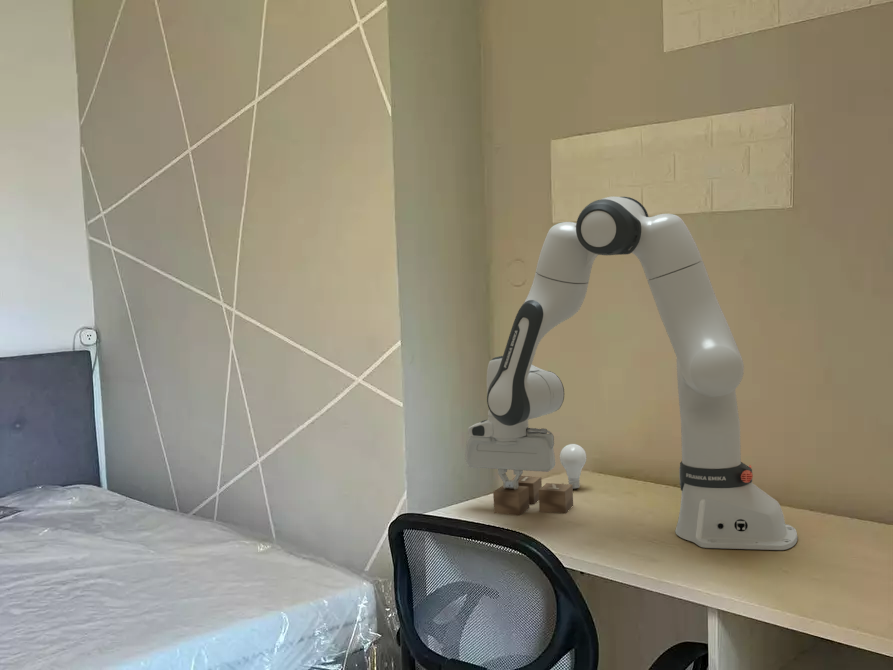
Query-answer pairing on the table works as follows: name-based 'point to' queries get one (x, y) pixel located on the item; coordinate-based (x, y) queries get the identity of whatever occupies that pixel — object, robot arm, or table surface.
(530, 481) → the numbered block 1
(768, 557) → the table surface
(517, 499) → the plain block
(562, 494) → the numbered block 7
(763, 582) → the table surface
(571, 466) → the lightbulb
